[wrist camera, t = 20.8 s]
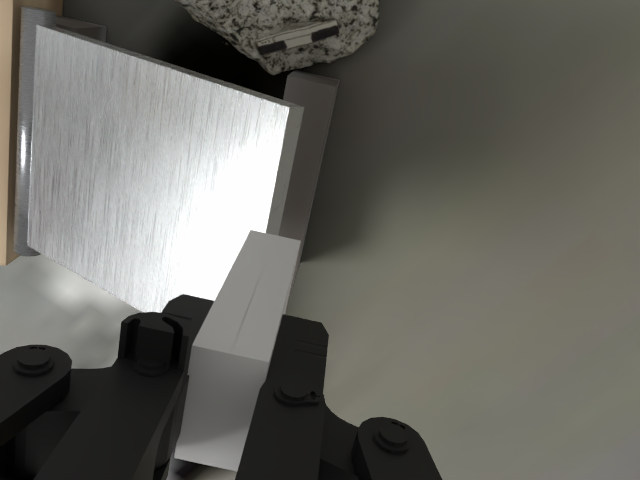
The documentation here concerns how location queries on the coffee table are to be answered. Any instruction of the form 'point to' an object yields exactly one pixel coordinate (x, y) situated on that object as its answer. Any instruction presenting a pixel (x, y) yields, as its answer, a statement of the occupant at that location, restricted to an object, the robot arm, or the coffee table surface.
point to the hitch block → (4, 41)
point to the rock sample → (289, 28)
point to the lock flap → (142, 166)
